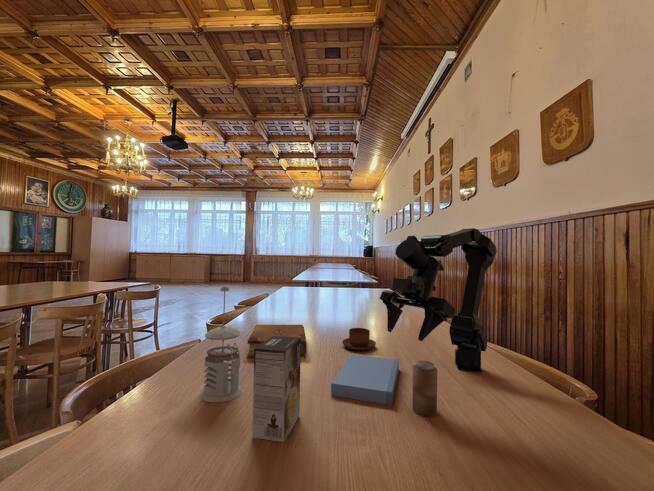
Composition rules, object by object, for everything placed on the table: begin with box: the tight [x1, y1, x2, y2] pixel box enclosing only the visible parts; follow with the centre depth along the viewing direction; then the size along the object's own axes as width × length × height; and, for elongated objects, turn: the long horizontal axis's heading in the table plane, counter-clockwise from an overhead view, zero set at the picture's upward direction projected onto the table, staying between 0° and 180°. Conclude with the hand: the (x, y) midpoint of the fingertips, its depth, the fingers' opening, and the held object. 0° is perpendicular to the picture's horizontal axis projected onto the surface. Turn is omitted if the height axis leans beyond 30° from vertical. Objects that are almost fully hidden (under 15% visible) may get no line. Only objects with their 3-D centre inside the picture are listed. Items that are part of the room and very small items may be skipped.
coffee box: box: [251, 336, 302, 443], centre depth 57 cm, size 9×6×16 cm
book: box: [330, 353, 400, 406], centre depth 79 cm, size 14×22×3 cm, turn 163°
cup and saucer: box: [342, 327, 377, 351], centre depth 108 cm, size 12×12×6 cm
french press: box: [198, 285, 244, 403], centre depth 71 cm, size 10×12×25 cm
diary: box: [246, 324, 308, 359], centre depth 107 cm, size 23×19×6 cm
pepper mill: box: [411, 360, 438, 418], centre depth 65 cm, size 5×5×10 cm
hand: (403, 335), depth 72 cm, fingers open, 9 cm apart
